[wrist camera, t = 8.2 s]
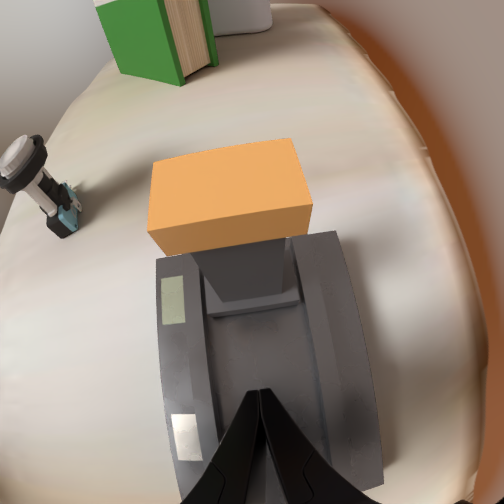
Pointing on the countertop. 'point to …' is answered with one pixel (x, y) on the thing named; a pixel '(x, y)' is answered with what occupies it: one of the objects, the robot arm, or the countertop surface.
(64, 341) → the countertop surface
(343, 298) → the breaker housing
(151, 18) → the hardback book
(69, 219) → the push button
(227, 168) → the lever
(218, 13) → the plastic bottle
